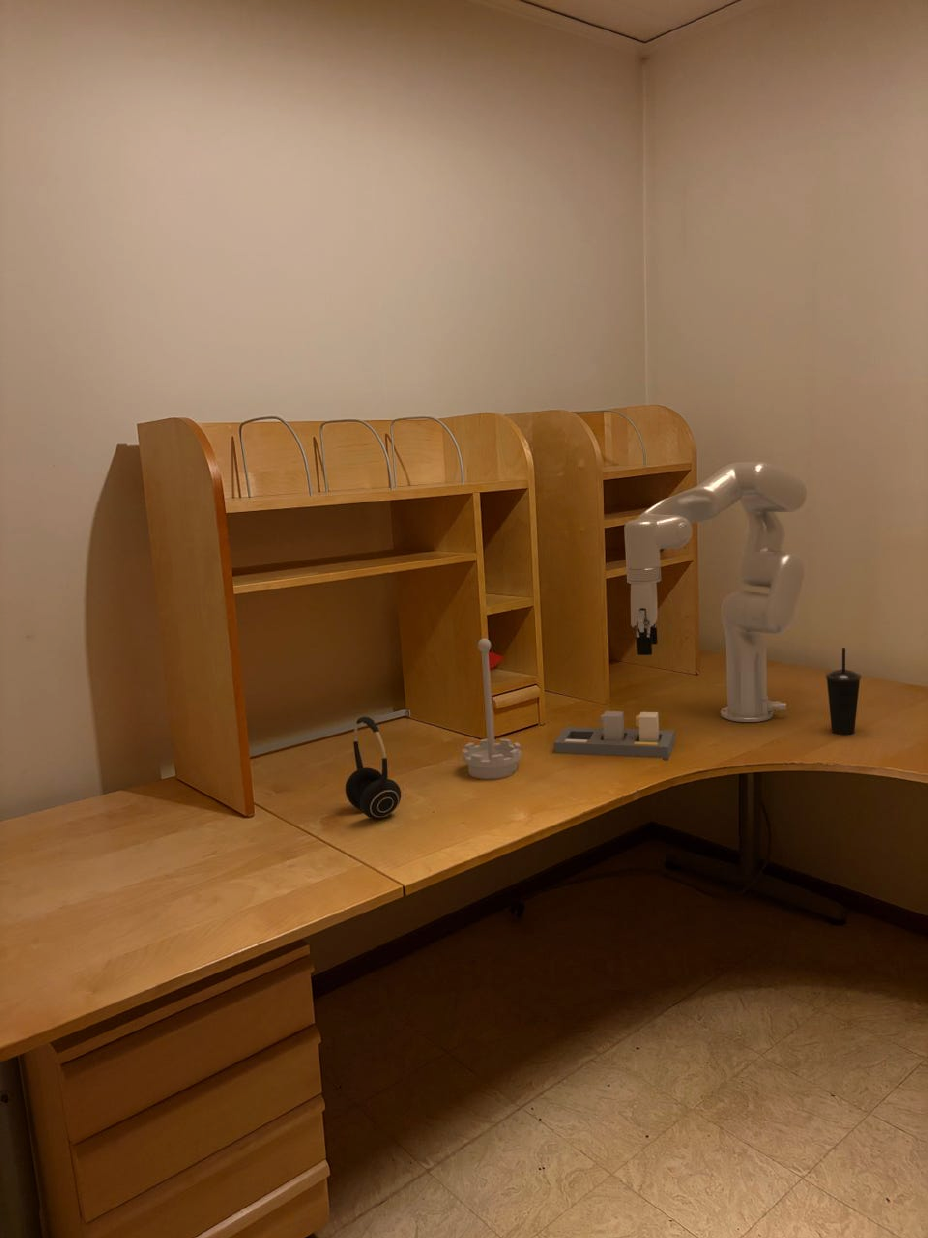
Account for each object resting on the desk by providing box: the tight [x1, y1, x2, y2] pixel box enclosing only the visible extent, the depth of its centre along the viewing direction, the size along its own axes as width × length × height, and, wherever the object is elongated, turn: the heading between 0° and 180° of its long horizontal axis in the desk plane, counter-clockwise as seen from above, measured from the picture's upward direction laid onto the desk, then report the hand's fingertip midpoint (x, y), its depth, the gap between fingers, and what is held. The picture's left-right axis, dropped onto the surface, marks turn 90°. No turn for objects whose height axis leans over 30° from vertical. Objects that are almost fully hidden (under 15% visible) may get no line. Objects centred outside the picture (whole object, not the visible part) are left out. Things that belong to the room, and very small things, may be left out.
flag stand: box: [461, 638, 522, 780], centre depth 205 cm, size 13×13×30 cm
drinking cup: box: [825, 647, 862, 736], centre depth 215 cm, size 8×8×20 cm
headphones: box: [345, 716, 402, 820], centre depth 186 cm, size 9×15×20 cm, turn 30°
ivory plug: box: [635, 711, 660, 742], centre depth 213 cm, size 5×4×8 cm
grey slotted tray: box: [552, 710, 676, 761], centre depth 216 cm, size 26×12×8 cm, turn 71°
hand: (647, 649), depth 212 cm, fingers open, 9 cm apart
